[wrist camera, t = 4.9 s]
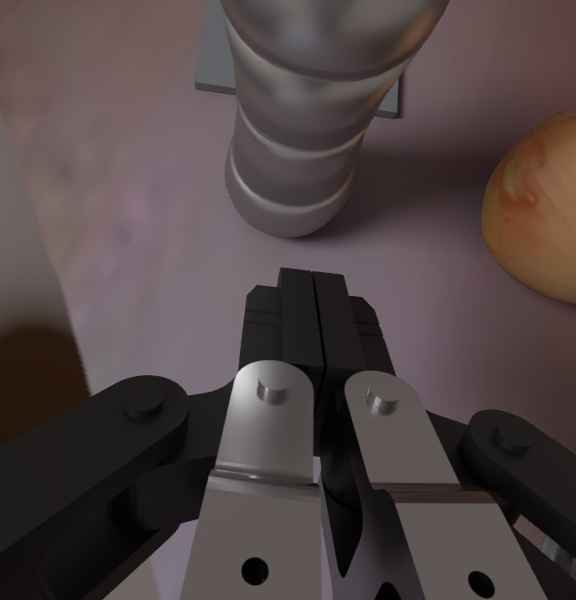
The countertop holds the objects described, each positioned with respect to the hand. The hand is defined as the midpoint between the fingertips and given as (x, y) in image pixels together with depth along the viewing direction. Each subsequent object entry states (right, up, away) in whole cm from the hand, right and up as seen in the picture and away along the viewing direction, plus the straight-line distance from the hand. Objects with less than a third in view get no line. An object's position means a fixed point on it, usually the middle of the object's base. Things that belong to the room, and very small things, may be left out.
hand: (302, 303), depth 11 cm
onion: (+14, +4, +16) cm, 22 cm away
